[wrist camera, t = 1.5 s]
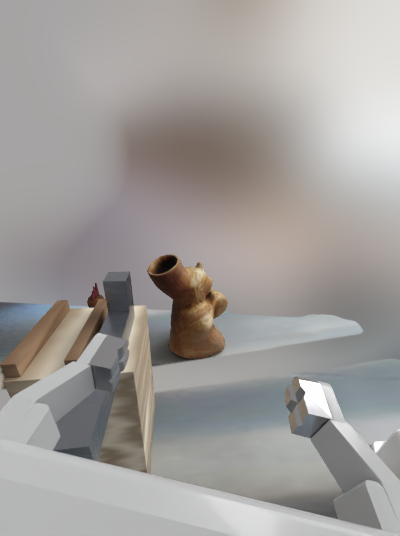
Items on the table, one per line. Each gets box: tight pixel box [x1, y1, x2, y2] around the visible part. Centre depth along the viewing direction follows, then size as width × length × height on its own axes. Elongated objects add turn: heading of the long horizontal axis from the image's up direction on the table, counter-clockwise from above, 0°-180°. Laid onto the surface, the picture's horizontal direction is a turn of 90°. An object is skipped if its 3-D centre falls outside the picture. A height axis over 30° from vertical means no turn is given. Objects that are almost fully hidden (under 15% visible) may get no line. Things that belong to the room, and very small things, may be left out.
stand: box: [0, 299, 155, 474], centre depth 36 cm, size 14×14×28 cm
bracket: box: [53, 272, 135, 461], centre depth 24 cm, size 3×20×8 cm, turn 7°
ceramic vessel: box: [148, 255, 227, 359], centre depth 58 cm, size 16×22×30 cm
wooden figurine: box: [87, 283, 104, 308], centre depth 70 cm, size 7×6×15 cm
